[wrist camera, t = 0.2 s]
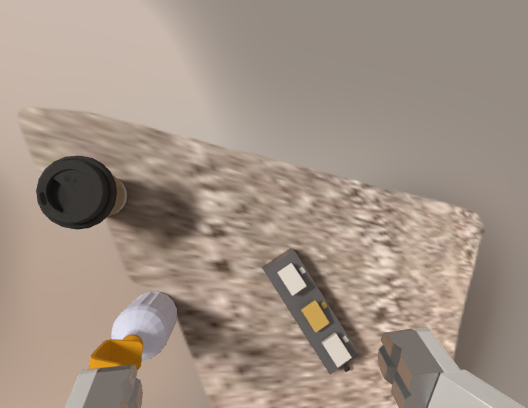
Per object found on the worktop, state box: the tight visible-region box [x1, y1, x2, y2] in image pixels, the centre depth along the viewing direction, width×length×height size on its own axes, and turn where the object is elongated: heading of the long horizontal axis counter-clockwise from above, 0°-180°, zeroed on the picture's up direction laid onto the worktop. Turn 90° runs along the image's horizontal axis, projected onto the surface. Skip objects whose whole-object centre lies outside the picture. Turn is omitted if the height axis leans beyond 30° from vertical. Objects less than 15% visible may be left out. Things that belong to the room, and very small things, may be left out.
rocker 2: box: [301, 301, 329, 333], centre depth 60 cm, size 5×3×1 cm, turn 32°
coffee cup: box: [36, 156, 127, 229], centre depth 54 cm, size 11×11×15 cm
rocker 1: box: [277, 263, 306, 296], centre depth 59 cm, size 5×3×1 cm, turn 32°
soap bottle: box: [89, 291, 177, 370], centre depth 50 cm, size 9×9×25 cm
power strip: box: [262, 248, 359, 374], centre depth 63 cm, size 27×7×5 cm, turn 32°
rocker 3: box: [321, 333, 352, 367], centre depth 60 cm, size 5×3×1 cm, turn 33°
